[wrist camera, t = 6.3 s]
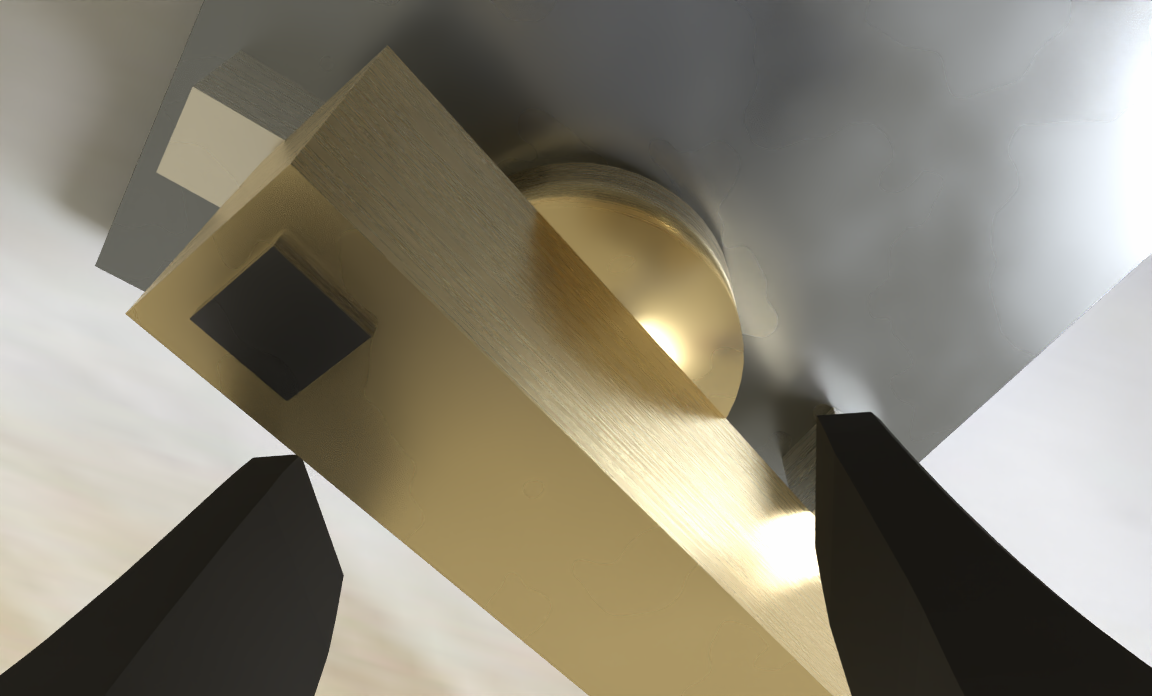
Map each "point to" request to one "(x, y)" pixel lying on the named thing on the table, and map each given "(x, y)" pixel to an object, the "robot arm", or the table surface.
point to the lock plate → (750, 165)
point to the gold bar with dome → (512, 390)
